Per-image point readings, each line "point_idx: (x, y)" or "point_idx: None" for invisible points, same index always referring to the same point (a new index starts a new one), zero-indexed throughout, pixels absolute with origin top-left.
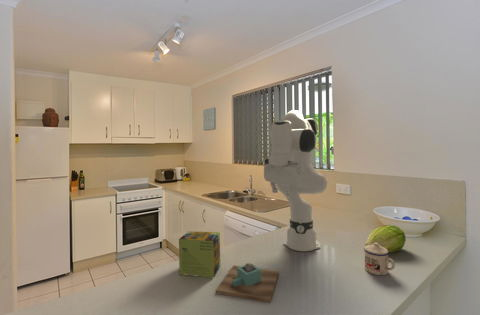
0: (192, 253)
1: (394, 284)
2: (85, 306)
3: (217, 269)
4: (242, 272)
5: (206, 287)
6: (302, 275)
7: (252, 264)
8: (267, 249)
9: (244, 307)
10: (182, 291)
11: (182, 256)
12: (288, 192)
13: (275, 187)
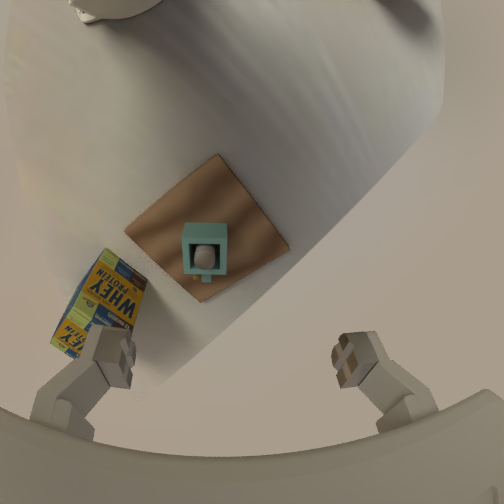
0: None
1: (421, 19)
2: (148, 388)
3: (126, 267)
4: (207, 272)
5: (173, 301)
6: (266, 108)
7: (207, 254)
8: (78, 86)
9: (266, 283)
10: (165, 328)
11: None
12: (357, 384)
13: (91, 374)
